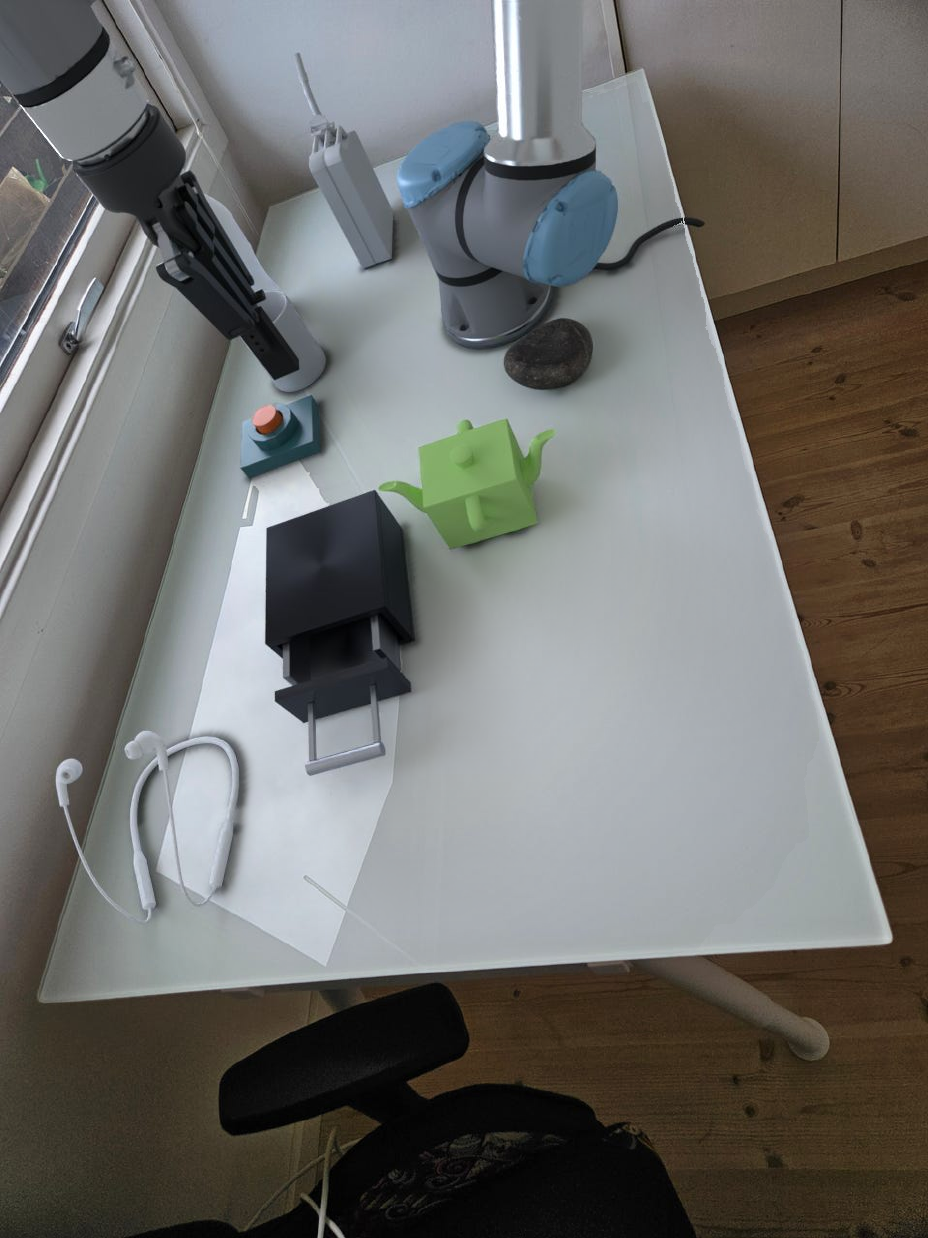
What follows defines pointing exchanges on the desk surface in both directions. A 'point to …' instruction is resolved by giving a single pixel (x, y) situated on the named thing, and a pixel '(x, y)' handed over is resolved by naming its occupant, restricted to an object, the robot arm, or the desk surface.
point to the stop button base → (282, 438)
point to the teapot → (476, 482)
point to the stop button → (267, 419)
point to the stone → (550, 355)
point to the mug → (293, 342)
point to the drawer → (342, 681)
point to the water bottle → (241, 246)
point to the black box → (336, 571)
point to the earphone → (144, 746)
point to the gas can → (349, 184)
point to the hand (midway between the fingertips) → (286, 369)
